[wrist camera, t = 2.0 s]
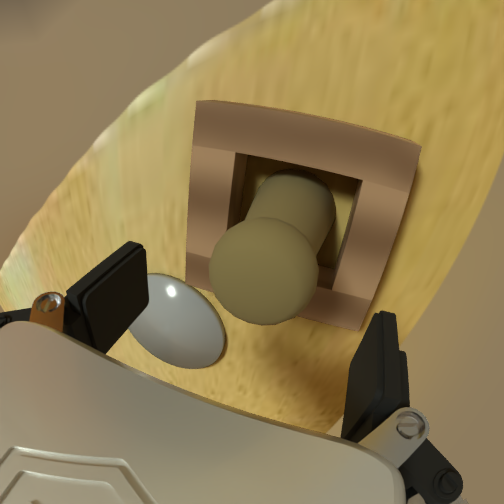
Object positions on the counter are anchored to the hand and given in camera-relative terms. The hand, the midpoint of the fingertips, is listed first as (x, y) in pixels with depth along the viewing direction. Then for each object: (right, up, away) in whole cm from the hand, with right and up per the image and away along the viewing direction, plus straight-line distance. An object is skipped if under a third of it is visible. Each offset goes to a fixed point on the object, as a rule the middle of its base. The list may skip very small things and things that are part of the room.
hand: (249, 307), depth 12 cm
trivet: (-8, -5, +20) cm, 22 cm away
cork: (+3, +5, +11) cm, 13 cm away
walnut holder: (+3, +5, +11) cm, 13 cm away
